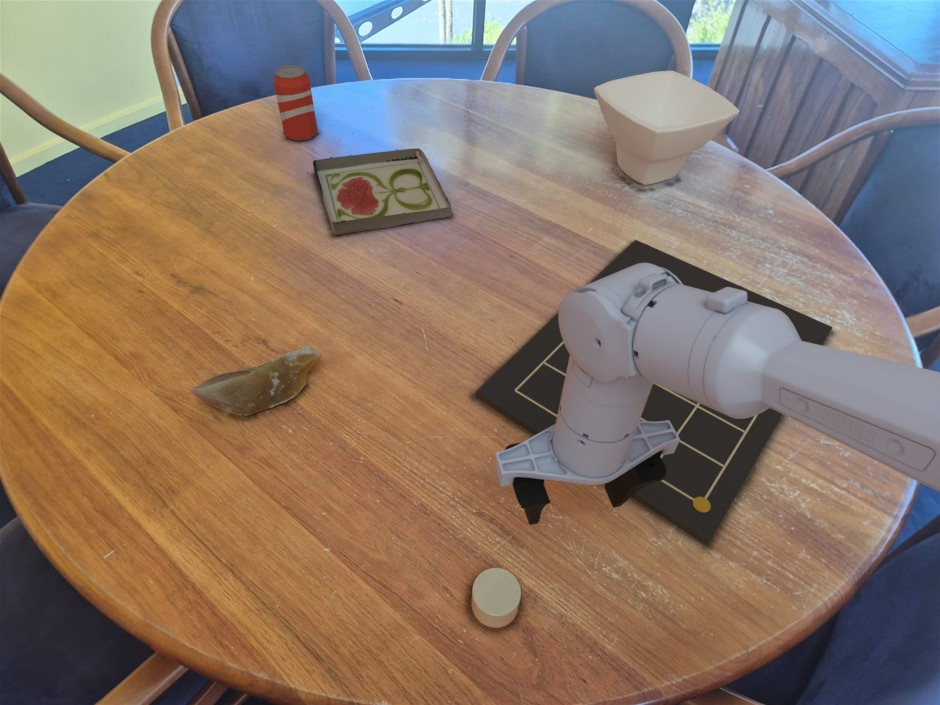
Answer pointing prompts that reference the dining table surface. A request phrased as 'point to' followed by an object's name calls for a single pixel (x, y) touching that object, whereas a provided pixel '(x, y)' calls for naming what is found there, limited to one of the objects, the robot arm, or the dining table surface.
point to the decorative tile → (380, 190)
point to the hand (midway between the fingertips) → (571, 505)
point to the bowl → (660, 121)
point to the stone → (259, 384)
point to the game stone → (495, 597)
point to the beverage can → (295, 102)
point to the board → (656, 409)
